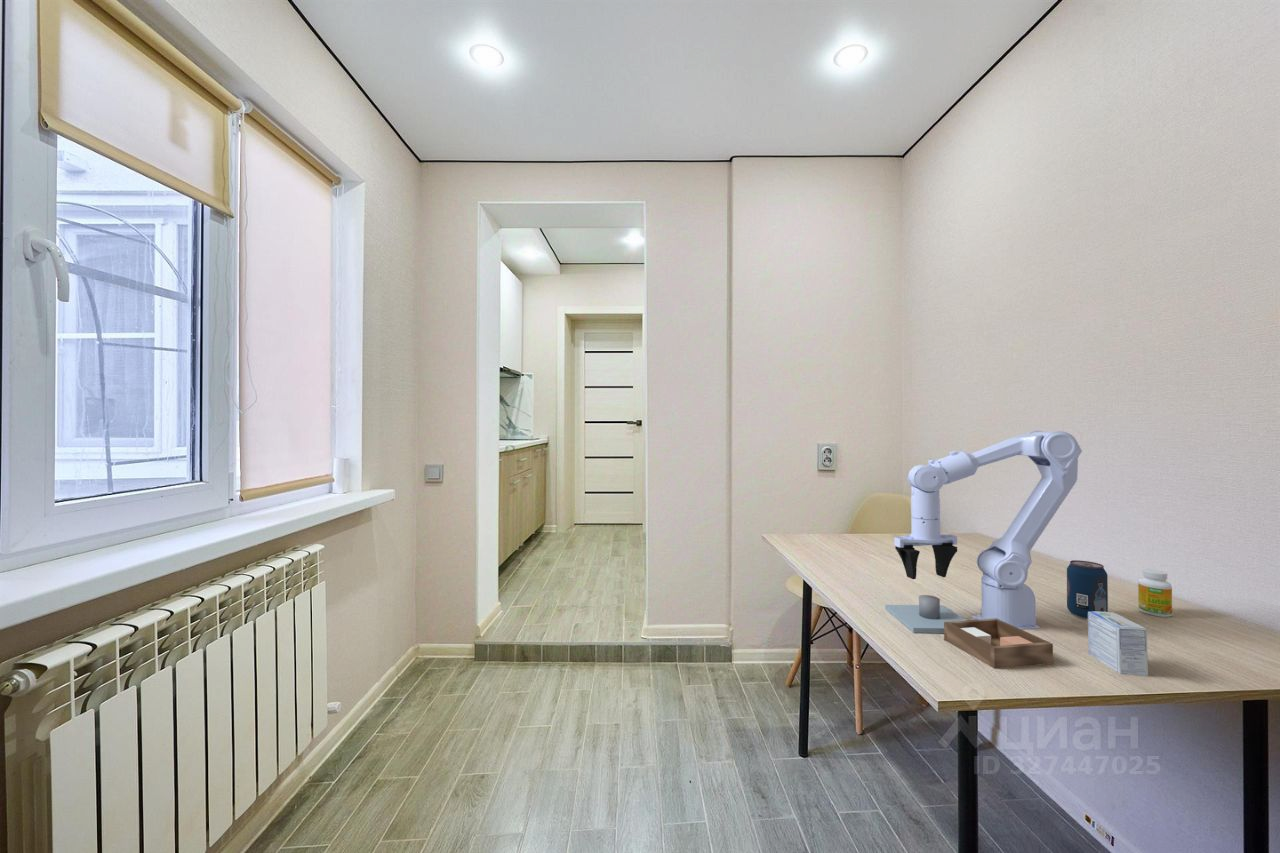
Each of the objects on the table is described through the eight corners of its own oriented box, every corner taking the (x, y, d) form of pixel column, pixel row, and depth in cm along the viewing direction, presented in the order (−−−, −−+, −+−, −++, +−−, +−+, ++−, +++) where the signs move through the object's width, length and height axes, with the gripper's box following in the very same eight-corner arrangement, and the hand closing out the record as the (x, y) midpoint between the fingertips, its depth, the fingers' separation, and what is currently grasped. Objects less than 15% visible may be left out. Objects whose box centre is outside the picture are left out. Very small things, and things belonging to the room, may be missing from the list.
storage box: (996, 637, 101) (996, 618, 101) (1053, 665, 89) (1052, 643, 89) (944, 641, 100) (943, 622, 100) (994, 670, 88) (994, 648, 88)
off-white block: (974, 641, 99) (974, 627, 99) (991, 649, 95) (990, 635, 95) (956, 642, 98) (956, 628, 98) (972, 651, 94) (972, 636, 94)
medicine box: (1149, 678, 84) (1148, 628, 84) (1118, 676, 85) (1118, 626, 85) (1114, 657, 92) (1114, 611, 92) (1087, 655, 93) (1086, 610, 93)
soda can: (1072, 608, 117) (1072, 557, 117) (1112, 617, 111) (1111, 564, 111) (1062, 614, 113) (1061, 562, 113) (1102, 624, 107) (1102, 569, 107)
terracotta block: (1018, 650, 95) (1018, 635, 95) (1038, 660, 91) (1037, 645, 91) (1000, 651, 94) (1000, 637, 94) (1019, 661, 90) (1018, 646, 90)
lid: (943, 612, 116) (943, 588, 116) (980, 637, 102) (979, 609, 102) (885, 612, 116) (884, 587, 116) (913, 636, 103) (913, 608, 103)
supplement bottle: (1146, 615, 112) (1146, 573, 112) (1133, 607, 117) (1132, 566, 117) (1178, 618, 110) (1177, 575, 110) (1163, 610, 115) (1162, 569, 115)
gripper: (940, 513, 117) (941, 570, 117) (885, 515, 115) (886, 573, 115) (964, 518, 110) (965, 579, 110) (906, 521, 108) (906, 583, 108)
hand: (926, 577), depth 112 cm, fingers open, 7 cm apart
